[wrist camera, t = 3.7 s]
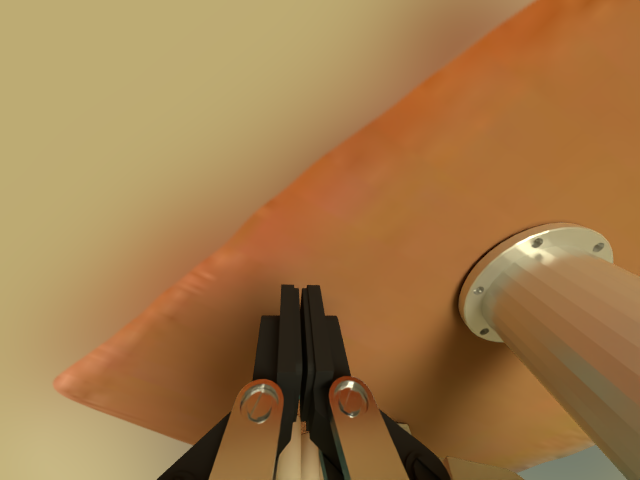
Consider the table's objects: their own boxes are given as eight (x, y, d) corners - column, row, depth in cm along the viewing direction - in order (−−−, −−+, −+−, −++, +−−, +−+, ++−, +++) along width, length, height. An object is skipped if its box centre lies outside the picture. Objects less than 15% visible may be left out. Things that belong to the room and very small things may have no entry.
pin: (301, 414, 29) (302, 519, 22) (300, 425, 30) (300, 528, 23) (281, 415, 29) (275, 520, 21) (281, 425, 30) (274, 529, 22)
